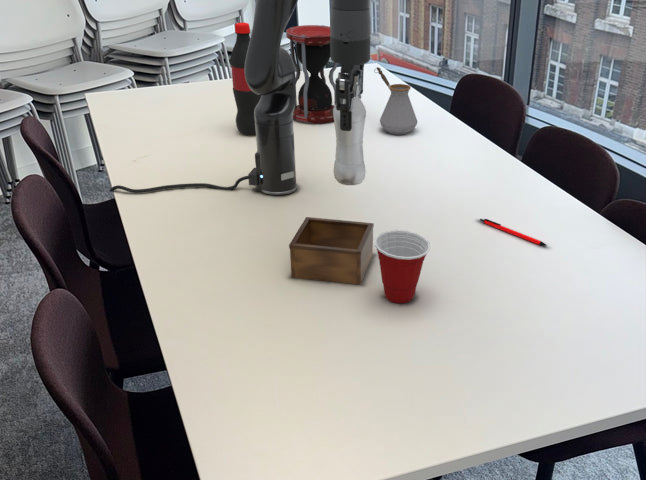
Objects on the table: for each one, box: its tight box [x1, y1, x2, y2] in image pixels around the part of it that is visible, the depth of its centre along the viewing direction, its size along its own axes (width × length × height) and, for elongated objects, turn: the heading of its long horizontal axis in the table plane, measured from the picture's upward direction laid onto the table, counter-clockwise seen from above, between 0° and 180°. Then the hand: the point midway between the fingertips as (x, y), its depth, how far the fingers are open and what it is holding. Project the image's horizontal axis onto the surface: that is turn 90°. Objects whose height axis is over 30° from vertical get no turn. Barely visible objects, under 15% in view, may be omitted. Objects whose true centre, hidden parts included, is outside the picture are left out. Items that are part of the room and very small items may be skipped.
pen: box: [479, 218, 548, 247], centre depth 175 cm, size 1×19×1 cm, turn 45°
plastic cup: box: [374, 229, 431, 304], centre depth 148 cm, size 11×11×12 cm
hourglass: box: [285, 24, 338, 125], centre depth 234 cm, size 16×16×25 cm
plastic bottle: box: [333, 83, 367, 186], centre depth 153 cm, size 6×7×20 cm
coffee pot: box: [373, 66, 418, 136], centre depth 231 cm, size 21×12×15 cm, turn 26°
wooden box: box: [288, 216, 375, 285], centre depth 159 cm, size 15×14×7 cm
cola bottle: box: [229, 22, 261, 137], centre depth 219 cm, size 8×8×30 cm
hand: (349, 124), depth 152 cm, fingers closed on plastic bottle, 6 cm apart
